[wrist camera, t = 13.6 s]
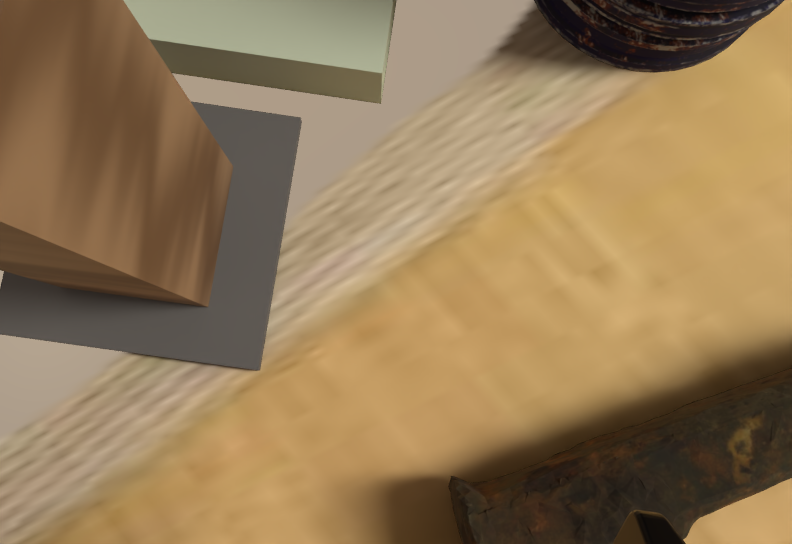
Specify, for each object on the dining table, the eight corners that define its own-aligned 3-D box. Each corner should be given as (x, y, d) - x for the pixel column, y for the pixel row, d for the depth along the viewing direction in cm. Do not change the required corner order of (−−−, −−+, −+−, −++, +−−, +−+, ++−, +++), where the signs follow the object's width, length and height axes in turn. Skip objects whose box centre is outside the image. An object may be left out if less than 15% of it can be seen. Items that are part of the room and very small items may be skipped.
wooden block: (208, 307, 23) (-45, 202, 9) (61, 287, 23) (-427, 150, 9) (233, 166, 23) (36, -133, 10) (91, 146, 23) (-314, -184, 10)
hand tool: (475, 593, 22) (503, 652, 18) (437, 475, 23) (455, 503, 18) (971, 412, 24) (1115, 422, 19) (926, 306, 24) (1056, 291, 20)
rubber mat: (259, 370, 23) (257, 370, 22) (-4, 333, 23) (-10, 332, 22) (301, 121, 24) (300, 117, 24) (53, 85, 24) (48, 80, 24)
